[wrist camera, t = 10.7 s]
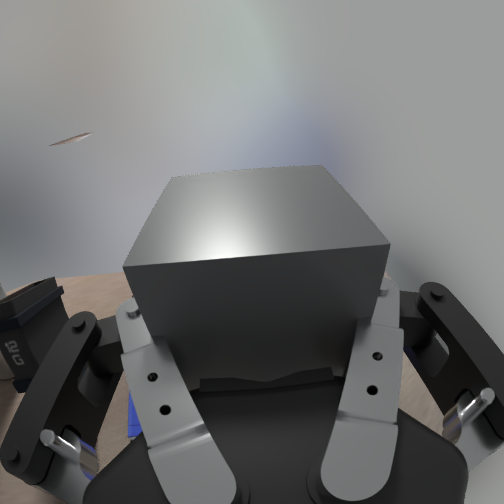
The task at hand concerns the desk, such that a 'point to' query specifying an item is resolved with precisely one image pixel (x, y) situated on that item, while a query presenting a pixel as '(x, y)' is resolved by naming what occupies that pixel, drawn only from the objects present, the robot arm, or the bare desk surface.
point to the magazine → (31, 328)
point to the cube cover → (256, 272)
